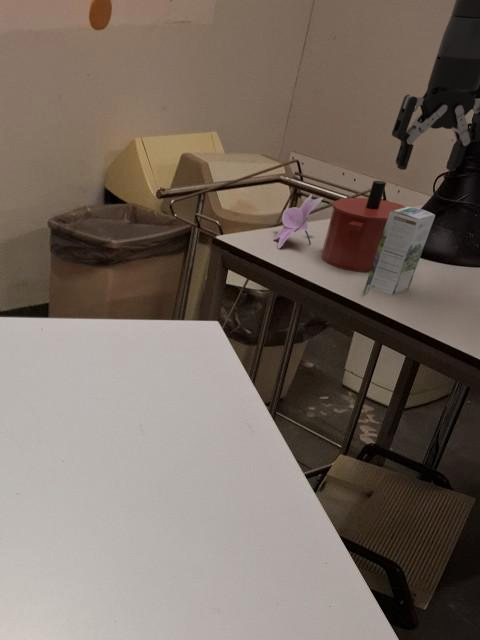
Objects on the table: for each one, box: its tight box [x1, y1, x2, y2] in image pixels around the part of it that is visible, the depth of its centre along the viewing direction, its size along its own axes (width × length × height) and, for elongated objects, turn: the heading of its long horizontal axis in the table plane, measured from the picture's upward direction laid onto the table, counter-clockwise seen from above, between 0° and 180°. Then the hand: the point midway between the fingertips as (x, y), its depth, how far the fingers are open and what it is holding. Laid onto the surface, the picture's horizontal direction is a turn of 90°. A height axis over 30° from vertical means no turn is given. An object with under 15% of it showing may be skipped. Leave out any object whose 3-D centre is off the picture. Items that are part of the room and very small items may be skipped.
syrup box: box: [362, 206, 436, 296], centre depth 150 cm, size 6×6×14 cm
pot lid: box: [332, 180, 406, 221], centre depth 162 cm, size 15×15×6 cm
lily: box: [272, 193, 324, 250], centre depth 175 cm, size 12×12×10 cm
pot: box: [321, 208, 387, 273], centre depth 167 cm, size 14×19×10 cm
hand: (425, 169), depth 140 cm, fingers open, 8 cm apart
